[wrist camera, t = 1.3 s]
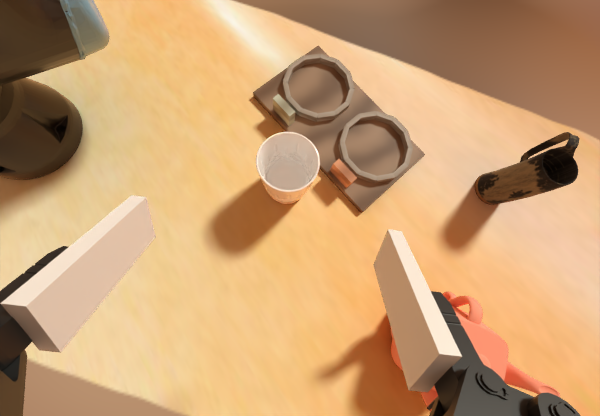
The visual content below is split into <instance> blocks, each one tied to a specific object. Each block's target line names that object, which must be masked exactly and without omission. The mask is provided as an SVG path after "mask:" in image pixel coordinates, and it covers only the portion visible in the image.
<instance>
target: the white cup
mask: <svg viewBox="0 0 600 416" xmlns="http://www.w3.org/2000/svg"><path fill="white" fill-rule="evenodd" d="M256 167H257V171H258V173H259V176H260V178H261V180H262V183H263V185H264V187H265V189H266V190H267V192H268V194H269V195H270V196H271V197H272V198H273V199H274V200H275V201H277V202H280V203H282V204H290V203H294V202H296V201H298V200H300V199H301V198H302V196H303V195H304V194H305V193H306V192H307V191H308V189H309V188H310V186H311V184H312V183H313V181H314V179H315V178H316V176H317V174H318V171H319V167H320V158H319V154H318V151H317V149H316V147H315V146H314V144H313V143H312V142H311V141H310V140H309V139H308V138H306V137H305V136H303V135H301V134H298V133H294V132H280V133H277V134H274V135H272V136H270V137H269V138H267V139H266V140H265V141H264V142H263V143H262V145H261V146H260V148H259V150H258V152H257V156H256Z"/></svg>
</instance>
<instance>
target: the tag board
mask: <svg viewBox="0 0 600 416" xmlns="http://www.w3.org/2000/svg"><path fill="white" fill-rule="evenodd" d="M253 95H254V97H255V98H256V99H257V100H258V101H259V102H260V103H261V105H262V106H263V107H264V108H265V109H266V110H267V111H268V112H269V113H270V114H271V115H272V116H273V118H274V119H275V120H276V121H277V122H278V123H279V124H280V125H281V126H282V127H283V128H284V130H285V131H286V132H294V133H298V134H301V135H303V136H305V137H306V138H308V139H309V140H310V141H311V142H312V143H313V144H314V146H315V147H316V149H317V151H318V154H319V158H320V167H319V168H320V169H321V170H322V171H323V172H324V173H325V174H326V175H327V176H328V177H329V178H330V179H331V181H332V182H333V183H334V184H335V185H336V186H337V187H338V188H339V189H340V190H341V191H342V193H343V194H344V195H345V196H346V197H347V198H348V199H349V200H350V201H351V202H352V203H353V204H354V206H355V207H356V208H357V209H358V210H359V211H360V212H361V213H362V212H363V211H364V210H365V209H366V208H368V207H369V206H370V205H371V204H372V203H373V202H374V201H375V200H376V199H377V198H378V197H380V196H381V195H382V194H383V193H384V192H385V191H386V190H387V189H388V188H389V187H390V186H391V185H393V184H394V183H395V182H396V181H397V180H398V179H399V178H400V177H401V176H402V175H403V174H404V173H406V172H407V171H408V170H409V169H410V168H411V167H412V166H413V165H414V164H415V163H416V162H418V161H419V160H420V159H421V158H422V157H423V156H424V155H425V154H424V153H423V152H422V151H421V150H420V149H419V148H418V147H417V146H416V145H415V144H414V143H413V141H412V140H411V139H410V136H409V133H408V131H407V129H406V128H405V127H404V126H403V125H402V124H401V123H400V122H399V121H398V120H397V119H396V118H394V117H393V116H390V115H387V114H385V113H384V112H383V111H382V110H381V109H380V108H379V107H378V106H377V105H376V104H375V103H374V102H373V101H372V100H371V99H370V98H369V97H368V96H367V95H366V94H365V93H364V92H363V91H362V90H361V89H360V88H359V87H358V85H357V84H356V83H355V82H354V81H353V80H352V76H351V73H350V71H349V70H348V69H347V68H346V67H345V66H344V65H343V64H342V63H341V62H340V61H339V60H337V59H335V58H332V57H329V56H328V55H327V54H326V53H325V52H324V51H323V50H322V49H321V48H320V47H319V46H317V47H316V48H314V49H313V50H311V51H310V52H309V53H307V54H306V55H304V56H302V57H300V58H299V59H298V60H296V61H295V62H293V63H292V64H291V65H289V67H288V68H286V69H285V70H284V71H282V72H281V73H279V74H278V75H277V76H275V77H274V78H272V79H271V80H270V81H268V82H267V83H266V84H264V85H263V86H261V87H260V88H259V89H257V90H256V91H254V92H253Z"/></svg>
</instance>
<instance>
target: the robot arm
mask: <svg viewBox="0 0 600 416" xmlns="http://www.w3.org/2000/svg"><path fill="white" fill-rule="evenodd" d="M108 42H109V32H108V29H107V27H106V25H105V22H104V20H103V18H102V16H101V14H100V12H99V10H98V8H97V6H96V4H95V2H94V1H93V0H0V176H2V177H6V178H10V179H18V180H26V179H33V178H38V177H41V176H44V175H47V174H49V173H51V172H53V171H55V170H56V169H58V168H59V167H61V166H62V165H63V164H65V163H66V162H67V161H68V160H69V159H70V158H71V156H72V155H73V154H74V152H75V151H76V149H77V147H78V145H79V143H80V140H81V136H82V120H81V116H80V114H79V112H78V110H77V108H76V107H75V106H74V105H73V103H72V102H71V101H69V100H68V99H67V98H65V97H64V96H63V95H61V94H60V93H59V92H57V91H56V90H54V89H52V88H50V87H49V86H46V85H44V84H41V83H39V82H36V81H33V80H31V79H28V78H26V77H29V76H32V75H35V74H38V73H41V72H44V71H47V70H50V69H53V68H56V67H59V66H62V65H65V64H68V63H71V62H74V61H77V60H82V59H85V57H86V56H88V55H90V54H92V53H94V52H97V51H99V50H101V49H103V48H105V47H106V46H107V44H108ZM155 237H156V236H155V232H154V227H153V223H152V219H151V215H150V210H149V206H148V202H147V198H146V197H142V196H134V195H131V196H130V197H129V198H128V199H126V200H125V201H124V202H123V203H122V204H120V205H119V206H118V207H117V208H116V209H114V210H113V211H112V212H111V213H109V214H108V215H107V216H106V217H105V218H103V219H102V220H101V221H100V222H99V223H97V224H96V225H95V226H94V227H92V228H91V229H90V230H89V231H88V232H86V233H85V234H84V235H83V236H82V237H80V238H79V239H78V240H77V241H75V242H74V243H73V244H72V245H71V246H69V247H66V246H63V247H60V248H58V249H56V250H54V251H52V252H50V253H48V254H47V255H46V256H44V257H43V258H42V259H41V260H39V261H38V262H37V263H35V266H32V267H30V268H29V269H28V270H27V271H25V273H24V274H21V275H20V276H19V277H18V278H16V279H15V280H14V281H12V282H11V283H10V284H9V285H7V286H6V287H5V288H4V289H2V290H1V291H0V416H23V404H24V391H25V376H26V364H27V354H26V351H25V348H26V347H27V346H28V345H29V344H30V343H31V342H33V343H34V344H35V345H36V347H37V348H38V349H39V350H43V351H52V352H62V350H63V349H64V348H65V347H66V346H67V344H68V343H69V342H70V341H71V340H72V338H73V337H74V336H75V335H76V333H77V332H78V331H79V330H80V329H81V327H82V326H83V325H84V324H85V322H86V321H87V320H88V319H89V318H90V316H91V315H92V314H93V313H94V312H95V310H96V309H97V308H98V307H99V305H100V304H101V303H102V302H103V301H104V299H105V298H106V297H107V296H108V294H109V293H110V292H111V291H112V290H113V288H114V287H115V286H116V285H117V284H118V282H119V281H120V280H121V279H122V277H123V276H124V275H125V274H126V273H127V271H128V270H129V269H130V268H131V266H132V265H133V264H134V263H135V262H136V260H137V259H138V258H139V257H140V256H141V254H142V253H143V252H144V251H145V249H146V248H147V247H148V246H149V245H150V243H151V242H152V241H153V240H154V238H155ZM373 265H374V269H375V272H376V276H377V279H378V283H379V287H380V290H381V294H382V297H383V301H384V304H385V308H386V312H387V315H388V319H389V322H390V326H391V329H392V333H393V337H394V340H395V344H396V347H397V351H398V355H399V358H400V362H401V365H402V369H403V372H404V376H405V380H406V383H407V387H408V390H410V391H419V392H429V391H430V390H431V389H432V387H433V386H435V388H436V391H437V394H438V397H437V398H436V399H434V400H433V401H432V402H431V403H430V404H429V406H428V407H427V409H428V410H431V409H432V410H431V412H430V415H429V416H580V414H579V413H578V412H577V411H576V410H575V409H574V408H573V407H572V406H571V405H570V404H568V403H567V402H566V401H564V400H563V399H561V398H560V397H558V396H556V395H554V394H551V393H548V392H547V393H540V394H539V395H537V396H536V397H533V396H530V395H528V394H526V393H523V392H521V391H519V390H517V389H514V388H512V387H510V386H508V385H507V384H506V383H505V382H504V381H503V379H502V378H501V377H500V376H499V375H498V374H497V373H496V372H495V371H493V370H492V369H491V368H489V367H487V366H485V365H484V364H483V362H482V361H481V359H480V357H479V355H478V354H477V352H476V350H475V348H474V346H473V344H472V342H471V341H470V339H469V337H468V335H467V333H466V331H465V329H464V328H463V326H461V322H460V320H459V318H458V316H456V313H455V311H454V309H453V307H452V305H451V303H450V302H449V301H448V300H447V299H446V298H445V297H444V296H443V295H442V293H441V292H433V291H430V289H429V287H428V285H427V283H426V281H425V279H424V277H423V274H422V272H421V270H420V268H419V266H418V264H417V262H416V260H415V258H414V256H413V254H412V252H411V250H410V248H409V245H408V243H407V241H406V239H405V237H404V235H403V233H402V231H397V230H389V229H388V231H387V233H386V235H385V238H384V240H383V243H382V245H381V248H380V250H379V252H378V255H377V257H376V260H375V262H374V264H373Z"/></svg>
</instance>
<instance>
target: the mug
mask: <svg viewBox="0 0 600 416" xmlns="http://www.w3.org/2000/svg"><path fill="white" fill-rule="evenodd" d="M568 139H569V140H568ZM565 140H568V142H567V144H566V146H563V147H559V148H555V149H550V150H548V151H546V152H544V153H541V154H539V155H537V156H535V157H532V158H530V159H528V158H529V157H530V156H532V155H534V154H536V153H538V152H540V151H542V150H544V149H546V148H549V147H551V146H553V145H556V144H558V143H560V142H563V141H565ZM578 144H579V138H578V136H574V135H572V134H571V133H569V132H566V133H562V134H560V135H558V136H556V137H554V138H552V139H550V140H548V141H545V142H543V143H541V144H540V145H538V146H536V147H534V148H532V149H530V150H529V151H527V152H526V153H524V155H523V156H522V157H521V161H520V162H519V163H517V164H514V165H512V166H509V167H506V168H503V169H500V170H497V171H493V172H490V173H486V174H483V175H481V176H479V177H478V178H477V180H476V182H475V191H476V194H477V195H478V197H479V198H480V199H481V200H482V201H483V202H485V203H487V204H492V205H494V204H498V203H505V202H510V201H514V200H518V199H523V198H527V197H531V196H534V195H538V194H541V193H545V192H548V191H551V190H554V189H557V188H560V187H563V186H566V185H569V184H571V183H573V182H574V181H575V180H576V178H577V175H578V166H577V164H576V161H575V160H574V158H573V156H574V152H575V149H576V148H577V146H578Z"/></svg>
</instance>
